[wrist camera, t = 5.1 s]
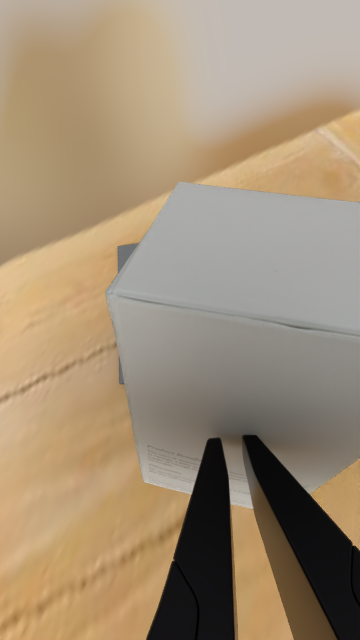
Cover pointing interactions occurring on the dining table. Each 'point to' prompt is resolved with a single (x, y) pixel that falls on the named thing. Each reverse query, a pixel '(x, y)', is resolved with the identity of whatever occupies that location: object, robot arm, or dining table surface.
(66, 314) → the dining table surface
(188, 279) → the supplement box
